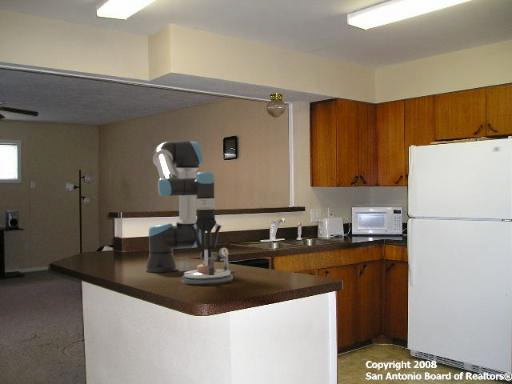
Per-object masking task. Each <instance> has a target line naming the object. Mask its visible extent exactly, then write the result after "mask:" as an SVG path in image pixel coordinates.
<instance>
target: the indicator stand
mask: <svg viewBox="0 0 512 384" xmlns="http://www.w3.org/2000/svg"><path fill="white" fill-rule="evenodd" d="M218 254H219V257H220V259H219V260H220V261H221V262H222V261H223V269H225V270H229V250H228V248H226V247H222V248H220V249H219V252H218Z"/></svg>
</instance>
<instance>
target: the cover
mask: <svg viewBox="0 0 512 384" xmlns="http://www.w3.org/2000/svg"><path fill="white" fill-rule="evenodd" d="M216 269H217V266H216V264H215V263H214V273H215V272H216ZM196 270H197V273H201V274H208V273H209V268H208V266H205V261H203V262H202V264H197V266H196Z"/></svg>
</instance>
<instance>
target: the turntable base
mask: <svg viewBox="0 0 512 384" xmlns="http://www.w3.org/2000/svg"><path fill="white" fill-rule="evenodd" d="M233 280H234V275H233V274H230V276H228V277H224V278H218V279H188V278H185V277H184V275H183V276H181V283H182V284H184V285H189V286H217V285H223V284H229V283H231V282H233Z"/></svg>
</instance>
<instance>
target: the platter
mask: <svg viewBox="0 0 512 384" xmlns="http://www.w3.org/2000/svg"><path fill="white" fill-rule="evenodd" d="M214 264H215V260H214V258H210V259H208V268H209V273H208V274H201V273H197V269H192V270H187V271H185V272H183V276H184V277H185V278H188V279H218V278H224V277H228V276H230V274H232V275H233V274H235V270H233V269H232V270H231V269H228V270H225V269H224V268H216V272H215V273H214Z"/></svg>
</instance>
